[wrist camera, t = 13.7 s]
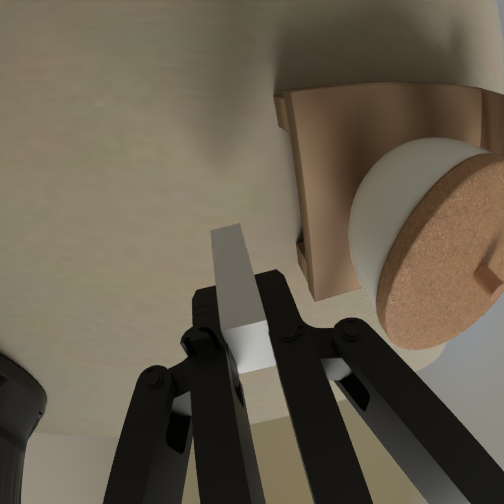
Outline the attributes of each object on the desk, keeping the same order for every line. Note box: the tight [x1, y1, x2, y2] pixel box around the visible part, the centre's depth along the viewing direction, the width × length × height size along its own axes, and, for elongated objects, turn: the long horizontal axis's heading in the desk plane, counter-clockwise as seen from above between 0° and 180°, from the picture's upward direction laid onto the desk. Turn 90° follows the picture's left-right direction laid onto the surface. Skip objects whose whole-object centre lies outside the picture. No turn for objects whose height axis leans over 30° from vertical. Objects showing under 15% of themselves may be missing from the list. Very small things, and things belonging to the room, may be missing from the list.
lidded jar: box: [348, 137, 504, 350], centre depth 13 cm, size 11×11×9 cm
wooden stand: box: [273, 82, 504, 302], centre depth 17 cm, size 16×14×7 cm
